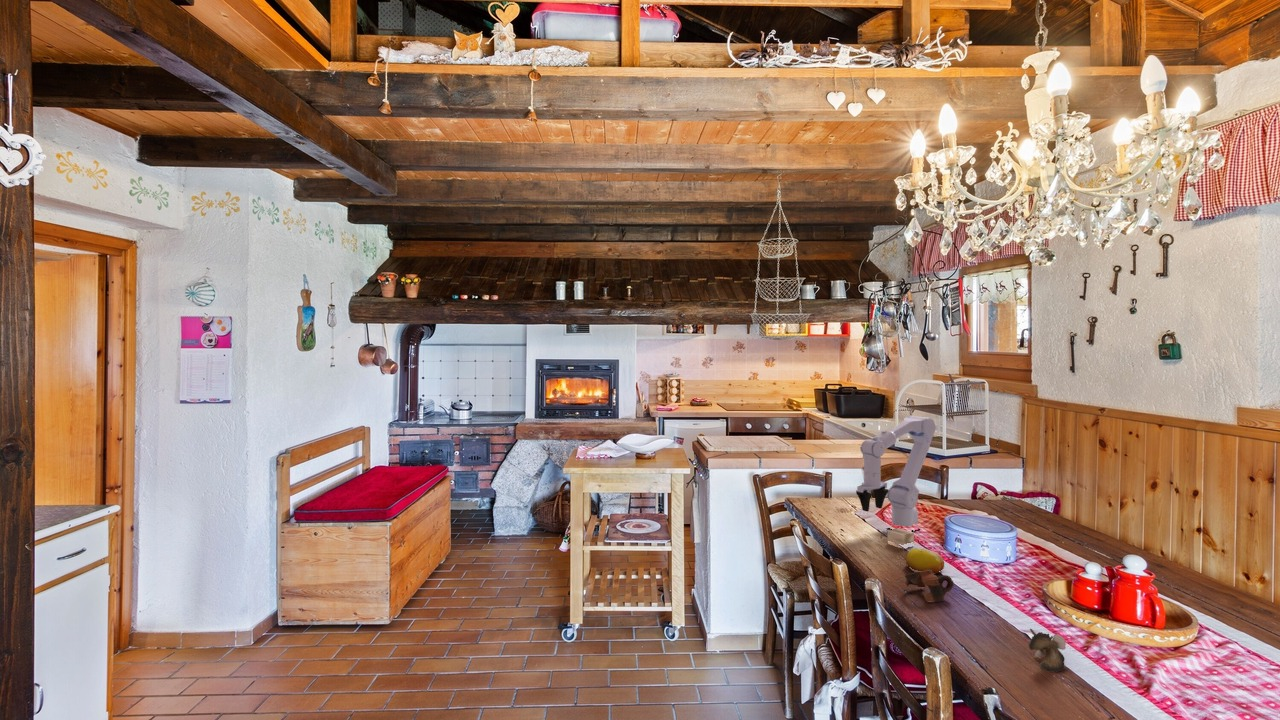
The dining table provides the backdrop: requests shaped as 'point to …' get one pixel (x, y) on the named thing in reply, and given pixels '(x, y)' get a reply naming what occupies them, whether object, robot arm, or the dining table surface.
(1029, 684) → the dining table surface
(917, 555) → the fruit
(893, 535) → the ash block
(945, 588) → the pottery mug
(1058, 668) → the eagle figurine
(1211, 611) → the dining table surface
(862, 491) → the robot arm
